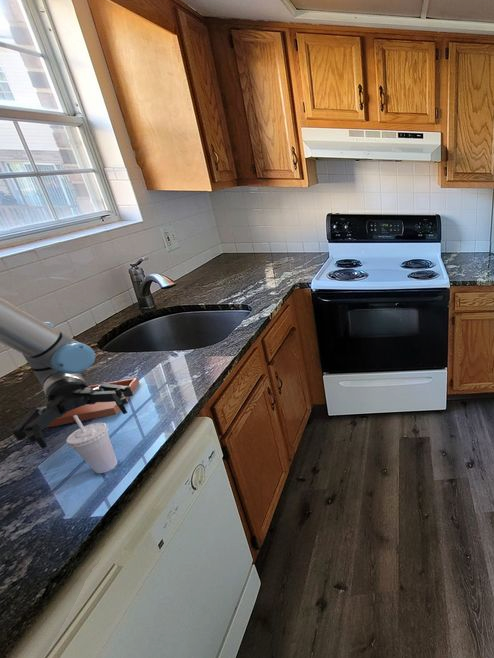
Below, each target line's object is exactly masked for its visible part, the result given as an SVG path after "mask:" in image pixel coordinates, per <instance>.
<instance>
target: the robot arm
mask: <svg viewBox="0 0 494 658" xmlns="http://www.w3.org/2000/svg"><path fill="white" fill-rule="evenodd" d="M0 344H1V345H3V346H6V347H8V348H10V349H12V350H14V351H16V352H18V353H21V354H22V355H23V356H22V357H23V358H24V359H25V360H26V362H27V363H28V365H29V367H30V369H31V370H32V372H33V374H34V376H35V377H36V379H37V380H38V382H39V384H40V386H41V388H42V390H43V393H44V395H45V397H46V400H47V403H46V405H45V406H44V405H43V406H41V407H39V406H36V405H33V406H31V407H30V408H28V413H26V415H25V416H24V417H23V418H22V419H21V420H20V421H19V422H18V423H17V425H15V426H14V428H13V429H12V430H11V434H12V435H13V437H14V438H15V439H16V441H19V442H20V441H22V440H24V439H26V438H27V439H28V441H29V442H30V443H33V442H35V441H36V442H37V444H38V445H39V446H40V448H41V449H42V450H43V449H45V448H46V449H47V448H48V445H47V442H46V439H45V436H44V433H43V432H42V431H43V430H45V429H46V427H47V426H48V425H49V424H50V423H51V422H53V421H54V420H55V419H56V418H58V417H62V416H63V415H64V414H65V413H66V412H67V411H70V410H72V409H75V408H78V407H80V406H84V405H88V404H95V403H96V402H116V404H117V406H118V407H119V409H120V410H119V411H121V413H122V414H123V415H125V414H128V411H127V409H126V406H125V405H128V403H129V402H128V401H129V400H128V399H126V397H129V398H130V397H132V396H134V394H133V393H134V392H133V393H132V391H131V389H130V387H129V386H123V385H114V384H107V383H108V382H106V381H100V382H99V383H98V384H99V386H98V387H96V388H94V389H92V388H89V387H88V386H89V385H88V383H87V382H86V380H85V378H84V377H83V375H82V374H81V373H83V372H85V371H87V370H88V369H89V368H91V366H93V365H94V363H95V360H96V353H95V350H94V349H93V348H92V347H90V346H89V345H88V344H86V343H84V342H82V341H78V340H76V339H74V338H72V337H70V336H69V335H67V334H66V333H64V332H61V331H60V330H58V329H57V328H56V326H55V325H54V324H53V322H50V321H42V320H41V319H39V318H37V317H35V316H34V315H32V314H30V313H29V312H26V311H24V310H23V309H21V308H19V307H18V306H16V305H14V304H12V303H10V302H9V301H7V300H5V299H4V298H2V297H0ZM47 428H48V427H47Z"/></svg>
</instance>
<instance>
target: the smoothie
mask: <svg viewBox="0 0 494 658" xmlns="http://www.w3.org/2000/svg"><path fill="white" fill-rule="evenodd" d="M73 417H74V419H75V421H76V422H75V423H76V424H77V425H78V427H79V428H78V429H76V430H75V431H72V433H70V434H69V435H68V436H67V437H66V439H65V442H66V444H67V446H68V447H70V448H73V449H74V451H75V452H77V454H78V455H79V456H80V457H81V458H82V459H83V460H84V461H85V462H86V464H88V465H89V467H90V468H91V469H92V470H93V471H94V472H95V473H96V474H103V473H107V472H109V471H111V470H113V469H114V468H115V467H117V465H118V459H117V456H116V453H115V450H114V448H113V444H112V441H111V438H110V434H109V426H107V425H108V424H106V423H105V422H95V423H90V424H86V425H84V424H83V423H82V421H80V420H79V418H78V416H77V415H74V416H73Z"/></svg>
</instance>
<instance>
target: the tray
mask: <svg viewBox="0 0 494 658" xmlns="http://www.w3.org/2000/svg"><path fill="white" fill-rule="evenodd" d="M106 383H107V384H114V385H123V386H129V387H130V389H131V391H132V393H134V391H135V390H136V388H138V386H139V385H140V381H139V379H138V377H133V378H132V377H131V378H126V379H122V380H115V381H110V382H109V381H108V382H106ZM98 386H99V383H98V384H92V385H88V387H89V388H92V389H94V388H96V387H98ZM129 398H130V397H126V399H127V400H128V399H129ZM119 411H121V410H120V409H119V407H118V406H117V404H116V402H96V403H95V404H88V405H84V406H80V407H78V408H75V409H72V410H70V411H67V412H66V413H65V414H64V415H63V416H62V417H58V418H56V419H55V420H54V421H53V422H51V423H50V424H49V425H48V426H47V427H46V428H50V427H52V428H53V427H57V426H61V425H66V424H71V423H77V422H76V421H75V419H74V417H73V416H74V415H77V416H78V418H79V420H80V422H82V421H87V420H88V421H89V420H93V419H98V418H102V417H108V416H113V415H117V414H118V413H119ZM46 428H45V429H46Z"/></svg>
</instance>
